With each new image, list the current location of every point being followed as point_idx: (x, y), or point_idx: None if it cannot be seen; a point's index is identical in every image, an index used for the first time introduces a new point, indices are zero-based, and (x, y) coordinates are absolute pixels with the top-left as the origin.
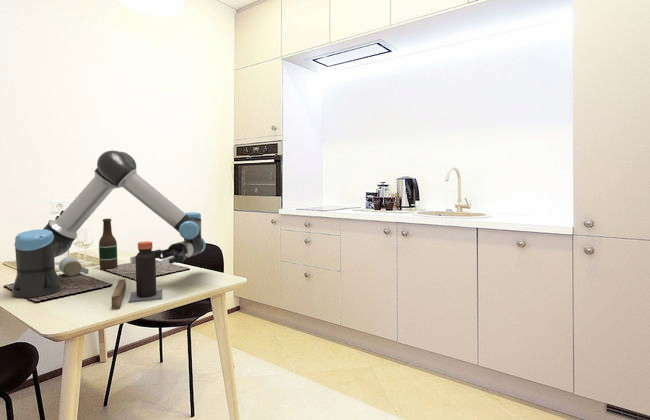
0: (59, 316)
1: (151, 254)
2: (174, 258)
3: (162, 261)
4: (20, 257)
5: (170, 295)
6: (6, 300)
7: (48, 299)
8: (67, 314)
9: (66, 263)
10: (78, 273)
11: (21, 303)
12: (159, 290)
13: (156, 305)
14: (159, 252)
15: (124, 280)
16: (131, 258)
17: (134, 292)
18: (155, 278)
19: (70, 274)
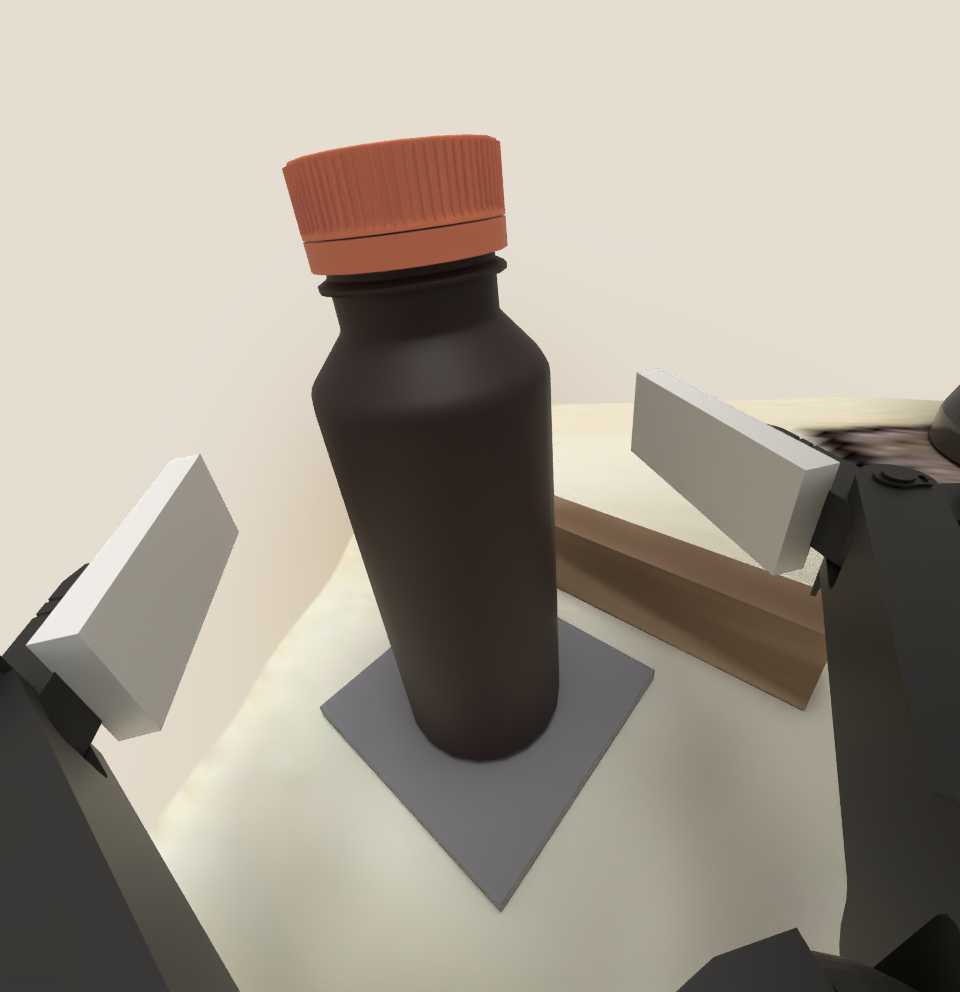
0: (563, 434)
1: (326, 360)
2: (34, 630)
3: (202, 479)
4: None
5: (311, 828)
6: (930, 401)
7: (848, 453)
8: (562, 445)
9: None
10: None
11: (839, 413)
12: (491, 846)
13: (292, 628)
14: (929, 832)
15: (777, 610)
16: (640, 385)
17: (625, 677)
18: (387, 632)
19: None
